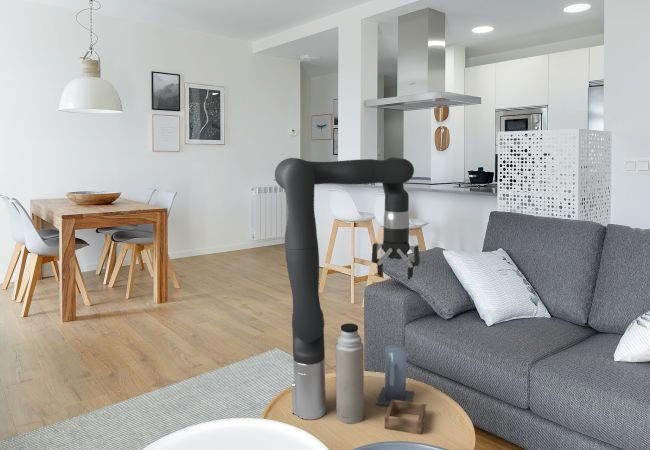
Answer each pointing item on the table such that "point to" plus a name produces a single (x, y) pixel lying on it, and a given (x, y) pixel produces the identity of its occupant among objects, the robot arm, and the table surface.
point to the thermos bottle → (349, 375)
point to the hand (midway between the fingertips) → (395, 277)
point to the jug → (395, 372)
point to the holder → (404, 423)
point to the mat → (385, 402)
